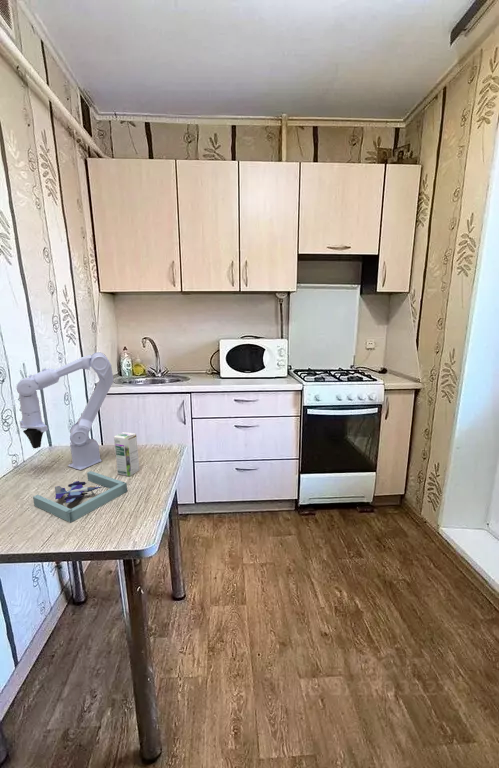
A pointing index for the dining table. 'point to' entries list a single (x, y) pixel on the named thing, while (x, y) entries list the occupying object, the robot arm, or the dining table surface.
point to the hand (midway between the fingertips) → (36, 447)
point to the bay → (88, 506)
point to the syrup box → (126, 453)
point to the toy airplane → (74, 491)
